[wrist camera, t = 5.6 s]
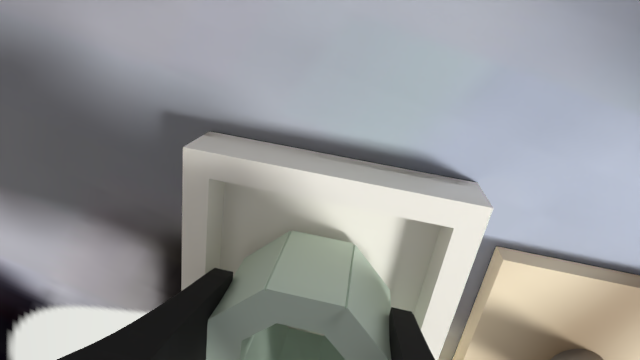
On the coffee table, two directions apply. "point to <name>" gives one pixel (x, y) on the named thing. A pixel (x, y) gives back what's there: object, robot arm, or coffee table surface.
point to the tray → (334, 218)
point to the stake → (552, 311)
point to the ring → (302, 305)
